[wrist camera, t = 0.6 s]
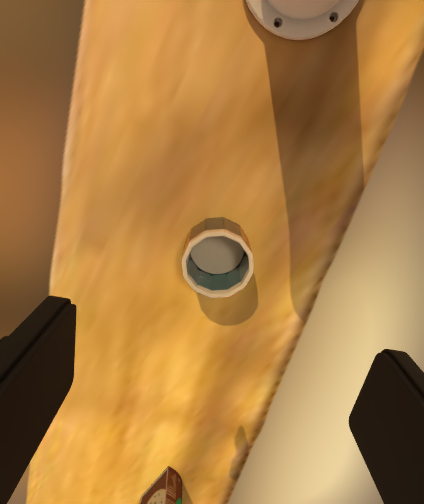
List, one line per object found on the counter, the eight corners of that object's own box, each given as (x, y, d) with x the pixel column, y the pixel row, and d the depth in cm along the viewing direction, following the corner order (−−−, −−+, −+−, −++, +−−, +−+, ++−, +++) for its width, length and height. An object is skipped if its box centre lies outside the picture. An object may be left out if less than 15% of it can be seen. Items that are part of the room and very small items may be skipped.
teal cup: (201, 207, 40) (199, 220, 35) (259, 233, 42) (266, 250, 36) (176, 261, 43) (170, 281, 37) (231, 284, 44) (233, 307, 39)
